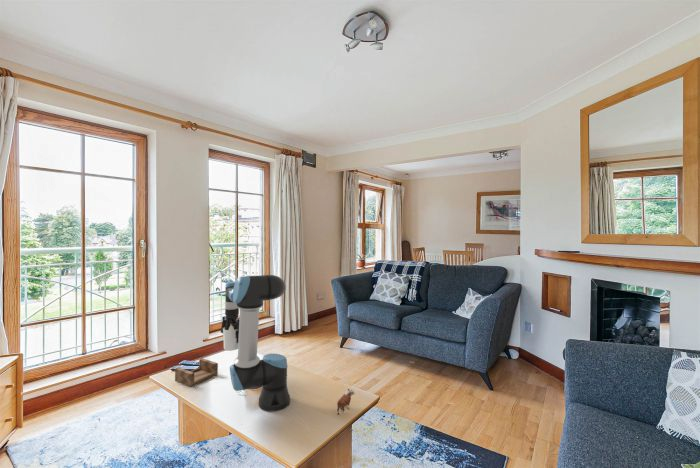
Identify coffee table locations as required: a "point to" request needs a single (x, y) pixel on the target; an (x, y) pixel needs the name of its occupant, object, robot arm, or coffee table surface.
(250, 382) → the robot arm
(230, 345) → the candle holder
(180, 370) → the wooden tray
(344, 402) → the bull figurine
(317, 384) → the coffee table surface
